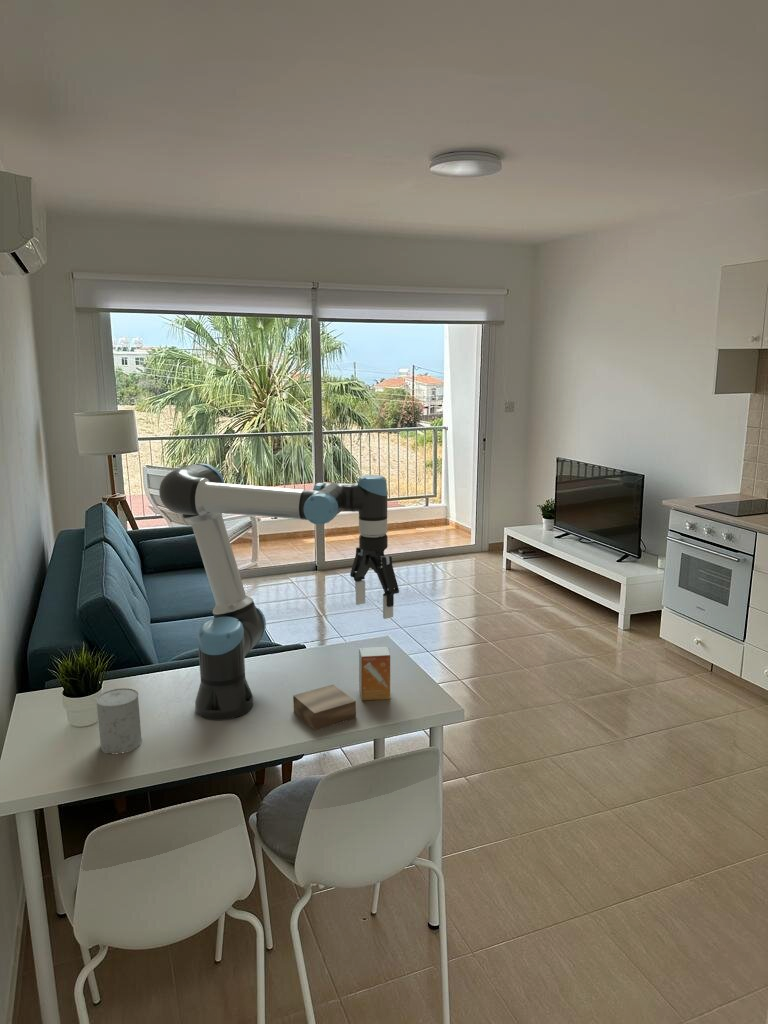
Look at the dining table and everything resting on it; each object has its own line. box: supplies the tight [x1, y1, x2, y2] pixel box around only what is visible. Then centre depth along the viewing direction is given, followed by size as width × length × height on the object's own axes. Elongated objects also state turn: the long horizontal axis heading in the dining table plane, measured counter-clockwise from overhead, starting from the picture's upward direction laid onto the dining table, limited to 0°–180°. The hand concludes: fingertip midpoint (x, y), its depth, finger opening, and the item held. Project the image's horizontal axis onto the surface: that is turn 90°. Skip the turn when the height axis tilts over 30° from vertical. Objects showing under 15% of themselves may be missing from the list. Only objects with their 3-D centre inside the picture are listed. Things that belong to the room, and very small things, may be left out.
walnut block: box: [292, 684, 357, 731], centre depth 190 cm, size 12×12×5 cm
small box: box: [358, 646, 391, 701], centre depth 200 cm, size 8×6×13 cm
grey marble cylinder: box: [95, 687, 143, 755], centre depth 175 cm, size 10×10×12 cm
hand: (374, 610), depth 196 cm, fingers open, 13 cm apart
